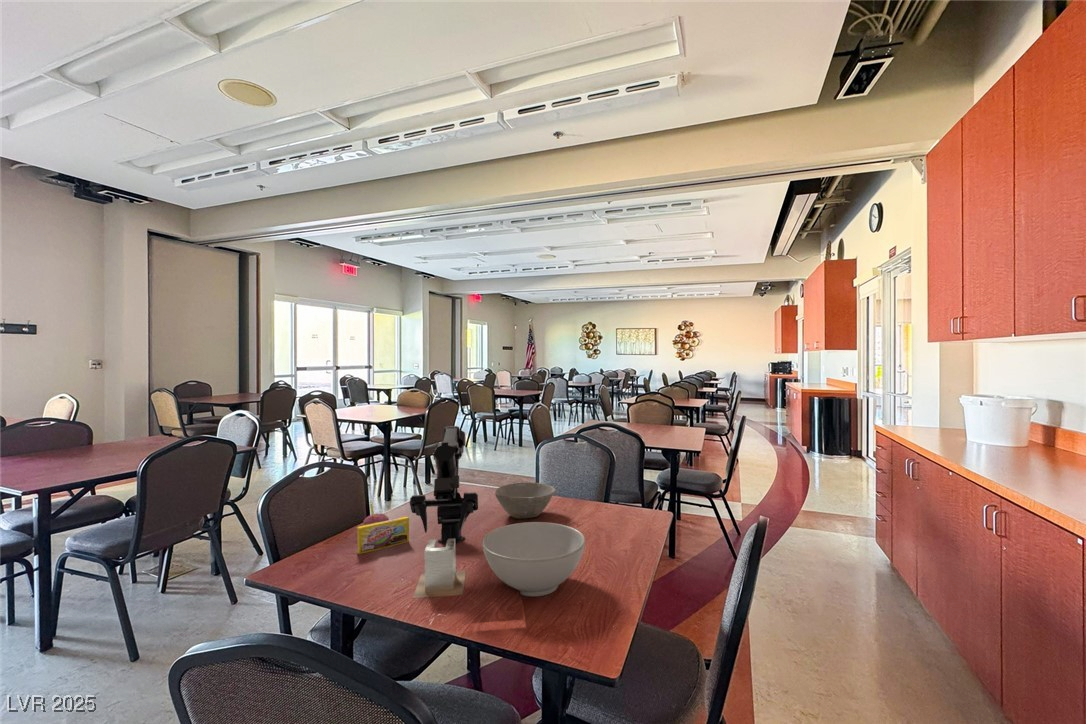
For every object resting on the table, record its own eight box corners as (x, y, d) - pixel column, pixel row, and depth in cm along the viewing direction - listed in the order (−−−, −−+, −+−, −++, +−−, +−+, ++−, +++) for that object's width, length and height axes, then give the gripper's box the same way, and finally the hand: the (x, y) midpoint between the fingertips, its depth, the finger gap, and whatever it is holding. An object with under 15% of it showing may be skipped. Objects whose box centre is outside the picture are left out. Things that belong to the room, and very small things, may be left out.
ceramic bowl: (487, 512, 186) (487, 486, 186) (540, 504, 196) (540, 479, 196) (507, 529, 166) (506, 500, 166) (565, 519, 176) (565, 492, 176)
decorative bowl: (510, 558, 141) (509, 517, 141) (597, 571, 131) (597, 527, 131) (462, 600, 116) (462, 551, 116) (567, 620, 106) (566, 566, 106)
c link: (429, 577, 126) (428, 539, 126) (455, 575, 127) (455, 538, 127) (424, 591, 118) (424, 551, 118) (453, 589, 119) (452, 549, 119)
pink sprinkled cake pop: (372, 541, 157) (371, 505, 157) (357, 536, 162) (357, 500, 162) (394, 533, 163) (394, 499, 164) (379, 529, 169) (379, 495, 169)
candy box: (359, 555, 145) (358, 528, 145) (356, 553, 147) (356, 526, 147) (409, 542, 155) (409, 517, 156) (407, 540, 157) (406, 515, 157)
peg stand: (421, 577, 129) (421, 554, 129) (465, 574, 130) (465, 552, 130) (412, 603, 115) (412, 577, 115) (462, 599, 116) (462, 574, 116)
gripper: (410, 466, 134) (403, 518, 122) (477, 464, 136) (476, 514, 124) (415, 487, 141) (409, 538, 130) (478, 485, 143) (477, 534, 132)
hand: (442, 531), depth 129 cm, fingers open, 9 cm apart
